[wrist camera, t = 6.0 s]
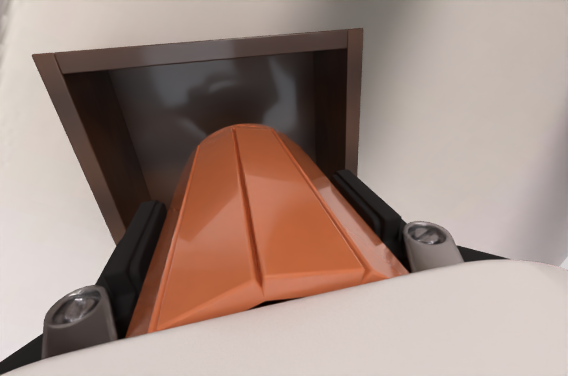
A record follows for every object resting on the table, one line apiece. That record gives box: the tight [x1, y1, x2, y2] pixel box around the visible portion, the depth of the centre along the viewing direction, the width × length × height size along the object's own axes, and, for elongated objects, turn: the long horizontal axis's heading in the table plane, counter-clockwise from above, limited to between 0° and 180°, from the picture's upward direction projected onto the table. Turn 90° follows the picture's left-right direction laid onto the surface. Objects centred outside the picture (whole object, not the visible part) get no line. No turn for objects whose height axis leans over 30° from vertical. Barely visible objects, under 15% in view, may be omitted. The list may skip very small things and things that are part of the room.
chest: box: [32, 28, 363, 246], centre depth 20 cm, size 16×16×7 cm
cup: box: [125, 123, 409, 338], centre depth 10 cm, size 6×6×10 cm
